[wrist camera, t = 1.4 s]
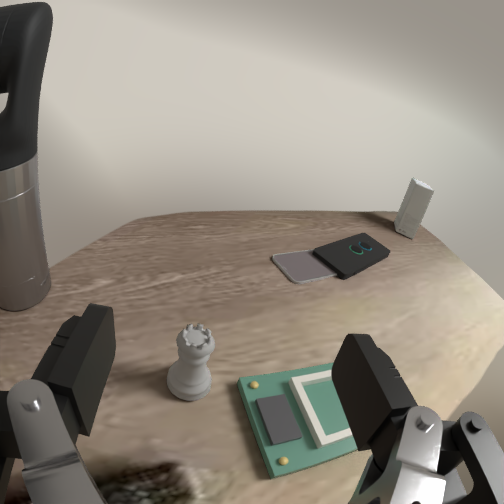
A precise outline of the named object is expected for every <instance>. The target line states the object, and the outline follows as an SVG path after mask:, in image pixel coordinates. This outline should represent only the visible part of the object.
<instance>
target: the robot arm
mask: <svg viewBox="0 0 504 504" xmlns="http://www.w3.org/2000/svg"><path fill="white" fill-rule="evenodd" d="M52 23H53V15H52V10H51V7H50V6H49V5H48V4H47V3H45V2H32V3H23V4H16V5H10V6H4V7H0V94H1V93H8V92H9V95H8V100H7V104H6V107H5V109H4V110H3V111H2V112H1V113H0V307H1V308H3V309H6V310H10V311H18V310H24V309H27V308H30V307H32V306H34V305H36V304H37V303H39V302H40V301H41V300H42V299H43V298H44V297H45V296H46V294H47V293H48V291H49V289H50V286H51V278H50V273H49V266H48V262H47V256H46V249H45V242H44V235H43V228H42V219H41V210H40V198H39V184H38V161H37V160H38V158H37V131H38V111H39V99H40V98H39V97H40V91H41V83H42V77H43V72H44V67H45V62H46V57H47V52H48V47H49V42H50V37H51V31H52ZM115 350H116V340H115V330H114V317H113V309H112V307H108V306H103V305H97V304H92V303H90V304H89V305H88V307H87V308H86V310H85V312H84V313H83V315H82V317H79V316H75V315H74V316H73V317H71V318H70V319H68V320H67V321H66V322H64V323H63V324H62V326H61V327H60V329H59V331H58V332H57V334H56V336H55V337H54V339H53V341H52V342H51V345H50V346H49V347H48V349H47V351H46V353H45V354H44V356H43V358H42V360H41V361H40V363H39V365H38V367H37V369H36V370H35V372H34V374H33V376H32V378H31V379H28V380H23V381H20V382H18V383H17V384H15V385H14V386H13V387H12V388H11V389H10V391H0V504H4V500H5V495H6V491H7V487H8V483H9V479H10V475H11V471H12V467H13V464H14V460H15V458H18V459H22V460H23V463H24V467H25V469H23V470H22V475H23V479H24V482H25V485H26V488H27V490H28V493H29V495H30V498H31V500H32V502H33V504H108V503H107V502H106V500H105V499H104V497H103V496H102V494H101V492H100V491H99V489H98V487H97V485H96V484H95V482H94V480H93V478H92V476H91V475H90V473H89V471H88V469H87V467H86V465H85V463H84V461H83V459H82V457H81V455H80V453H79V451H78V449H77V447H76V445H75V444H76V441H77V437H78V434H82V435H85V436H90V433H91V429H92V426H93V422H94V419H95V415H96V412H97V409H98V406H99V403H100V399H101V396H102V393H103V390H104V387H105V384H106V381H107V378H108V375H109V372H110V369H111V366H112V363H113V361H114V357H115ZM331 377H332V382H333V384H334V387H335V389H336V392H337V395H338V397H339V400H340V403H341V405H342V408H343V411H344V413H345V416H346V419H347V421H348V424H349V427H350V429H351V432H352V435H353V438H354V440H355V443H356V446H357V449H358V451H363V450H369V449H371V451H372V453H373V454H372V455H371V456H370V457H369V459H368V461H367V464H366V466H365V469H364V471H363V474H362V476H361V478H360V481H359V483H358V485H357V487H356V490H355V492H354V494H353V496H352V498H351V500H350V501H349V503H348V504H504V453H503V451H502V449H501V448H500V446H499V444H498V442H497V440H496V438H495V437H494V435H493V433H492V431H491V429H490V428H489V426H488V425H487V423H486V421H485V420H484V419H483V418H482V417H481V416H480V415H479V414H477V413H474V412H465V413H464V414H463V415H462V416H461V417H460V418H459V419H458V420H457V422H452V421H443V420H441V419H440V417H439V416H438V414H437V413H436V412H434V411H433V410H432V409H430V408H428V407H425V406H418V405H417V403H416V401H415V399H414V398H413V396H412V394H411V392H410V391H409V389H408V387H407V386H406V384H405V382H404V380H403V379H402V377H400V374H399V372H398V370H397V369H395V365H394V364H393V362H392V360H391V359H390V357H389V356H388V355H387V354H386V353H385V352H383V351H382V350H381V349H380V348H377V346H376V344H375V343H374V341H373V339H372V338H371V336H370V335H368V334H348V335H347V336H346V337H345V339H344V341H343V344H342V346H341V348H340V350H339V352H338V354H337V357H336V359H335V361H334V363H333V366H332V370H331ZM463 460H464V461H465V464H466V466H467V468H468V470H469V472H470V474H471V477H472V479H473V481H474V487H473V490H472V491H471V493H470V494H469V495H467V494H466V492H465V489H464V487H463V484H462V482H461V480H460V477H459V475H458V473H457V470H456V468H455V467H457V466H458V465H459V464H460V463H461V462H462V461H463Z"/></svg>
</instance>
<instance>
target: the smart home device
mask: <svg viewBox="0 0 504 504" xmlns="http://www.w3.org/2000/svg"><path fill="white" fill-rule="evenodd" d="M389 253H390V250H389V249H387V248H386V247H384V246H383V245H382V244H380V243H379V242H377V241H376V240H374V239H373V238H372V237H370V236H369V235H367V234H366V233H361V234H357V235H354V236H351V237H348V238H345V239H342V240H339V241H336V242H333V243H330V244H327V245H324V246H321V247H318V248H315V249H314V250H313V253H312V255H314V256H315V257H316V258H317V259H319V260H320V261H321V262H323V263H324V264H325V265H326V266H328V267H329V268H330V269H331V270H333V271H334V272H335V273H337V276H338V277H339V278H340V279H342V280H345V279H348V278H349V277H351V276H353V275H355V274H357V273H359V272H361V271H363V270H365V269H366V268H368V267H370V266H372V265H374V264H376V263H378V262H379V261H381V260H383V259H385V258H387V257H388V255H389Z"/></svg>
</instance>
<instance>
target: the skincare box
mask: <svg viewBox="0 0 504 504" xmlns="http://www.w3.org/2000/svg"><path fill="white" fill-rule="evenodd" d="M433 193H434V191H433V190H432V189H431V187H430V186H429V185H428V184H425V183H423V182H421V181H419V180H417V179H415V178H412V180H411V182H410V184H409V187H408V190H407V192H406V195H405V197H404V199H403V202H402V204H401V207H400V209H399V211H398V214H397V216H396V218H395V221H394V224H395V229H396V232H398V233H401V234H403V235H405V236H406V237H408V238H410V239H413V238H414V236H415V234H416V232H417V230H418V227H419V225H420V223H421V221H422V219H423V216H424V214H425V212H426V209H427V207H428V205H429V202H430V200H431V198H432V195H433Z"/></svg>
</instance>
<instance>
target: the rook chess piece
mask: <svg viewBox="0 0 504 504" xmlns="http://www.w3.org/2000/svg"><path fill="white" fill-rule="evenodd" d="M176 341H177V346H178V355H179V359H178V360H177V361H176V362H175V363H174V364H173V365H172V366H171V367H170V369H169V372H168V376H167V386H168V388H169V389H170V391H171V392H172V393H173V394H174V395H175V396H177V397H178V398H180V399H184V400H187V401H192V400H199V399H201V398H203V397H205V396H206V395H207V393H208V392H209V391H210V387H211V380H212V379H211V374H210V371H209V369H208V368H207V366H206V362H207V361H208V359H209V356H210V354H211V352H212V351H213V350H214V347H215V341H214V338H213V337H212V336H211V331H210V330H209V329H208V328H207V329H206V330H204V329H203V325H202V324H197V327H193V325H192V324H189V325H187V328H186V329H183V330H182V331H181V332H180V333H179V334H178V336H177V339H176Z"/></svg>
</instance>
